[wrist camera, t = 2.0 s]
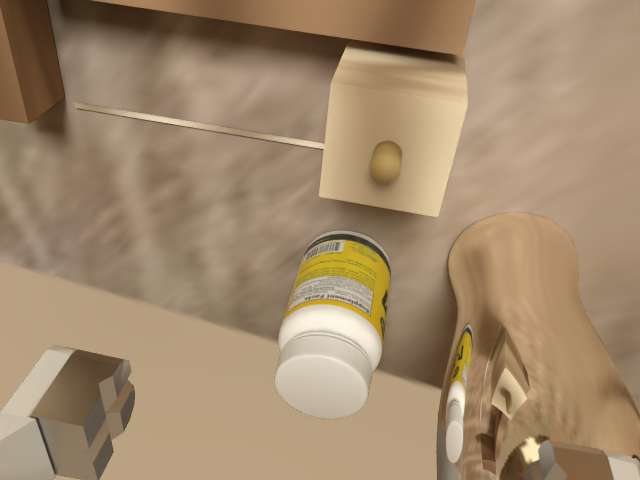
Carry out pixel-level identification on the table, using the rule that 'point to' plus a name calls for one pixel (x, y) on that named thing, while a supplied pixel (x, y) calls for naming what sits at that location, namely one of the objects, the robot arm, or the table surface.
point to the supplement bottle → (334, 325)
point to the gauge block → (393, 126)
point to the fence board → (232, 5)
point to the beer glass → (524, 356)
